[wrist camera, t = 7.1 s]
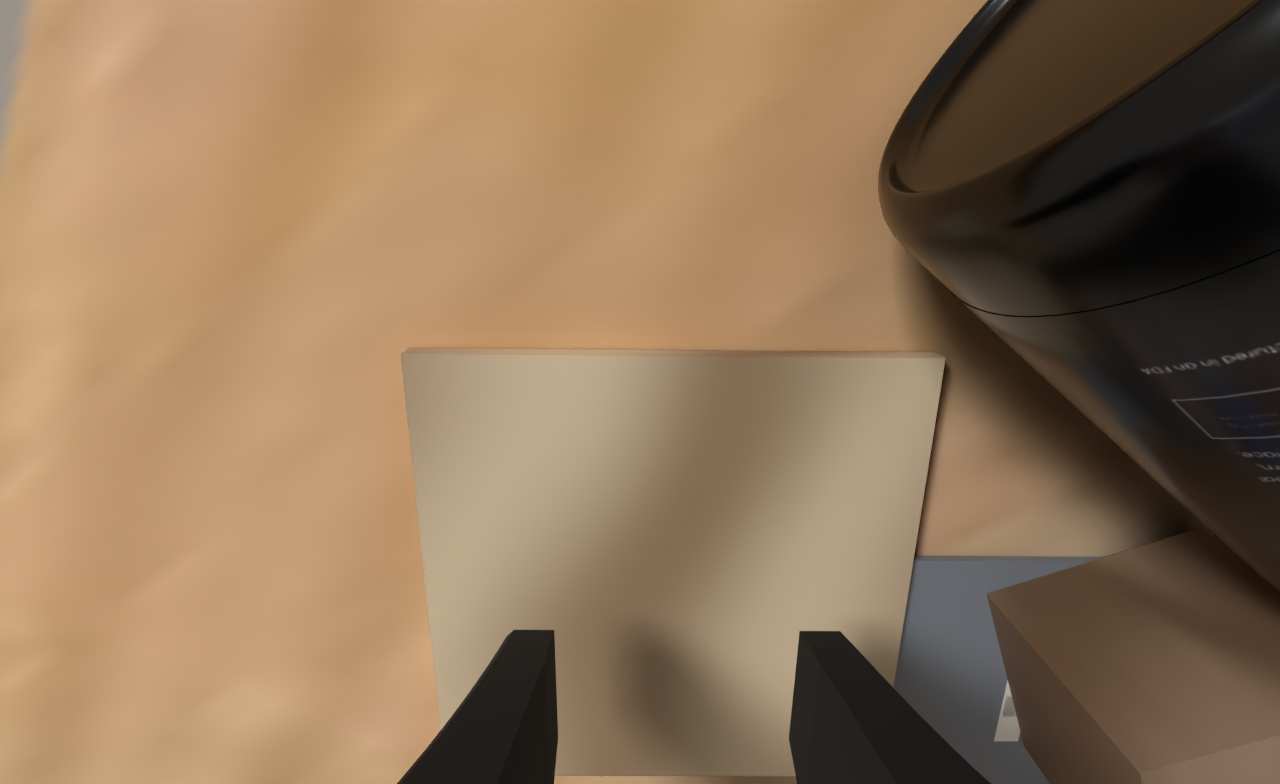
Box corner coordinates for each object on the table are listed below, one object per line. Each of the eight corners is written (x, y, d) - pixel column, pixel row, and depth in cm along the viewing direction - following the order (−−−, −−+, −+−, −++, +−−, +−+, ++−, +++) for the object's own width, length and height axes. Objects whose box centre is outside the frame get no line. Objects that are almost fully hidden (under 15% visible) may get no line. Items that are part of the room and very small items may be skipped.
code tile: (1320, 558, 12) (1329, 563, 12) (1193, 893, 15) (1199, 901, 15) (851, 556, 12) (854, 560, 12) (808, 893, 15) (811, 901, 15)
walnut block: (986, 593, 13) (1200, 527, 12) (1024, 746, 14) (1220, 691, 13) (1139, 773, 9) (1460, 686, 8) (1174, 965, 10) (1456, 896, 9)
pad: (935, 352, 11) (945, 358, 11) (872, 760, 14) (879, 776, 14) (408, 347, 11) (400, 354, 11) (451, 759, 14) (445, 775, 14)
